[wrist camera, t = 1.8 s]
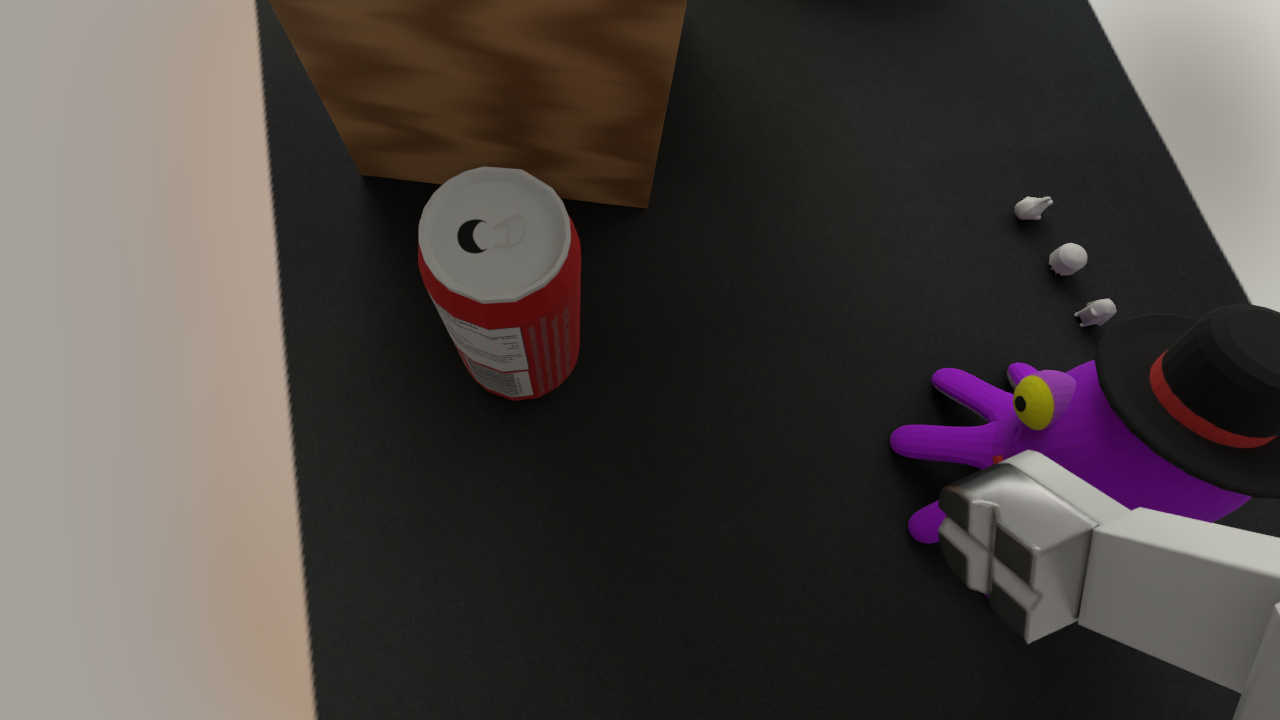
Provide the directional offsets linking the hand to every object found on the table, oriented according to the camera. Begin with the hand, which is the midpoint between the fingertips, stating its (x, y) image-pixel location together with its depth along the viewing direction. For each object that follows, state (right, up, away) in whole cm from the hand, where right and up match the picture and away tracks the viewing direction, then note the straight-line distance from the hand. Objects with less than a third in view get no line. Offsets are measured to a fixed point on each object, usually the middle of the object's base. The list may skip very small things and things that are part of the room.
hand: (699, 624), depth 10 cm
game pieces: (+22, +9, +28) cm, 37 cm away
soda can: (-7, +4, +24) cm, 25 cm away
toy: (+17, -2, +24) cm, 29 cm away
